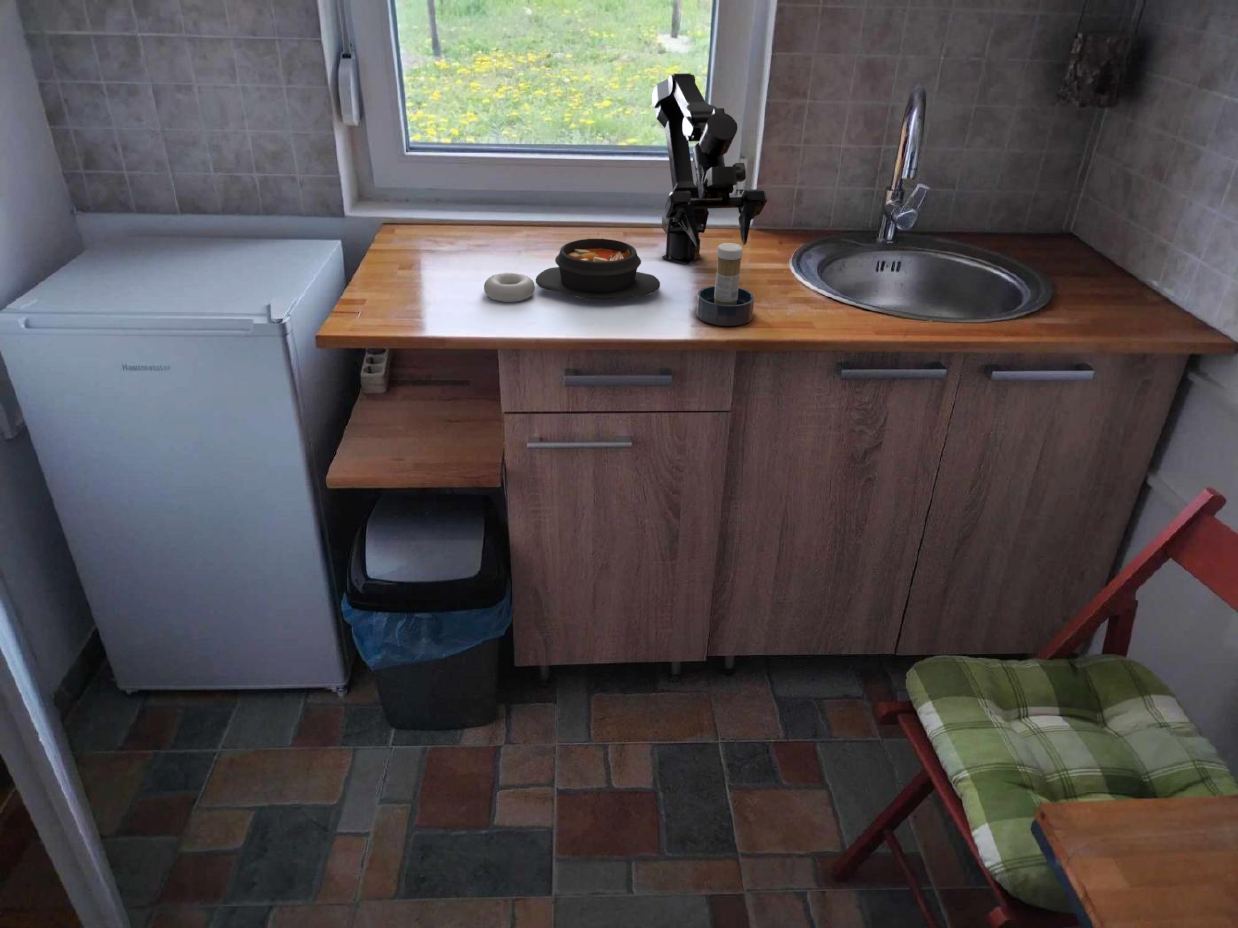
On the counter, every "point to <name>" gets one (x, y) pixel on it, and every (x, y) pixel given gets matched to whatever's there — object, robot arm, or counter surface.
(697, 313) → the bowl
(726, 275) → the sprinkles bottle
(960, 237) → the counter surface
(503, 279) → the donut
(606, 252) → the casserole
